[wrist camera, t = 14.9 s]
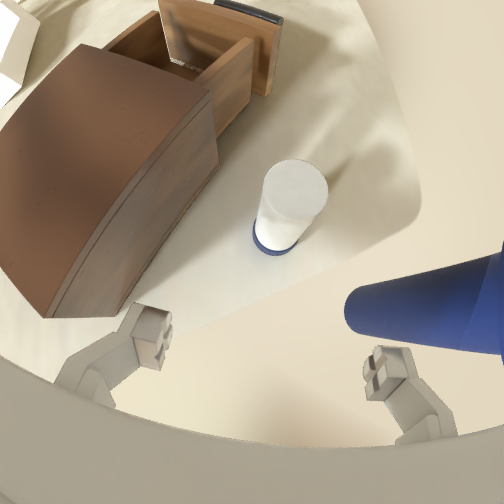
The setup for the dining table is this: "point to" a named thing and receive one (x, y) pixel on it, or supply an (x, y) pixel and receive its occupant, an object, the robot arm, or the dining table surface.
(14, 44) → the white cradle stand
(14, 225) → the cabinet
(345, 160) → the dining table surface
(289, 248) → the tube
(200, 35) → the drawer
